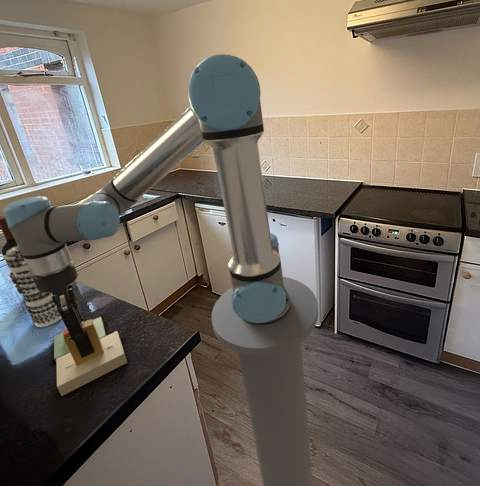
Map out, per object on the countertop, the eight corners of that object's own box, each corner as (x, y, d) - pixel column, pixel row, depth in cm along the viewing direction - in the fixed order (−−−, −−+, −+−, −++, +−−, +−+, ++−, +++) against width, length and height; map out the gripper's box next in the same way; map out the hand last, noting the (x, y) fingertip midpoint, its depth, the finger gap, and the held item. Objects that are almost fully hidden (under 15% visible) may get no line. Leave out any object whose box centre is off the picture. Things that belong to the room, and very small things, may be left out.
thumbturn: (102, 346, 76) (91, 317, 73) (104, 352, 74) (92, 323, 71) (75, 359, 73) (62, 329, 70) (76, 365, 71) (62, 336, 68)
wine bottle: (22, 304, 102) (-17, 224, 91) (27, 293, 108) (-10, 217, 97) (49, 296, 105) (14, 218, 94) (51, 285, 112) (19, 211, 101)
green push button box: (102, 319, 91) (99, 311, 90) (106, 338, 83) (103, 330, 82) (55, 339, 85) (51, 331, 84) (55, 362, 77) (51, 353, 76)
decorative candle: (74, 307, 98) (46, 239, 89) (52, 327, 89) (19, 255, 80) (49, 307, 99) (19, 240, 90) (25, 328, 90) (-11, 256, 81)
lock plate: (120, 339, 82) (117, 330, 81) (127, 362, 74) (124, 353, 73) (60, 367, 75) (56, 357, 74) (61, 396, 67) (56, 386, 66)
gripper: (33, 260, 69) (68, 339, 77) (29, 291, 56) (71, 380, 65) (70, 249, 72) (100, 325, 81) (74, 275, 60) (109, 362, 69)
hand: (87, 349), depth 73 cm, fingers closed on thumbturn, 2 cm apart
